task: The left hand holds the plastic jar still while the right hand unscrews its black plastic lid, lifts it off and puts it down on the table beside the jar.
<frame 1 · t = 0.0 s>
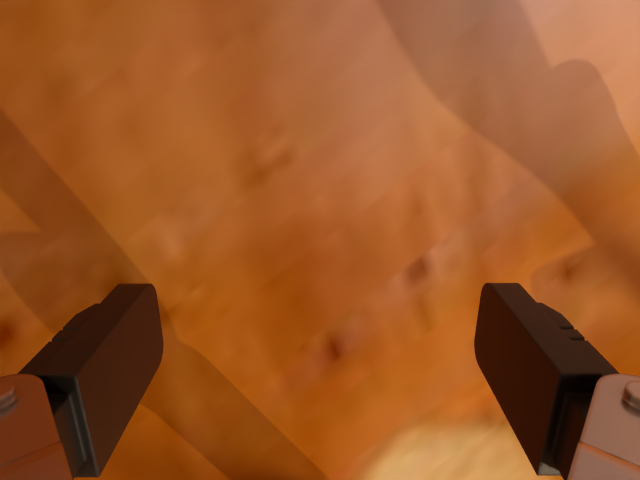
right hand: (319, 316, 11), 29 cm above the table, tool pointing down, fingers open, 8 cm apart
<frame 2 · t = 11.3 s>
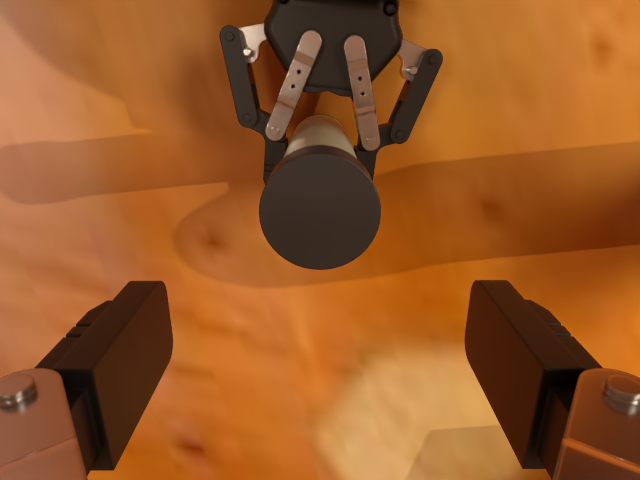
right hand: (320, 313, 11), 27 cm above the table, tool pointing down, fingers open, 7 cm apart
left hand: (316, 196, 32), fingers closed on jar, 4 cm apart
jar: (320, 143, 37), on the table, touching left hand
lid: (319, 212, 19), point 19 cm above the table, screwed on, not yet turned
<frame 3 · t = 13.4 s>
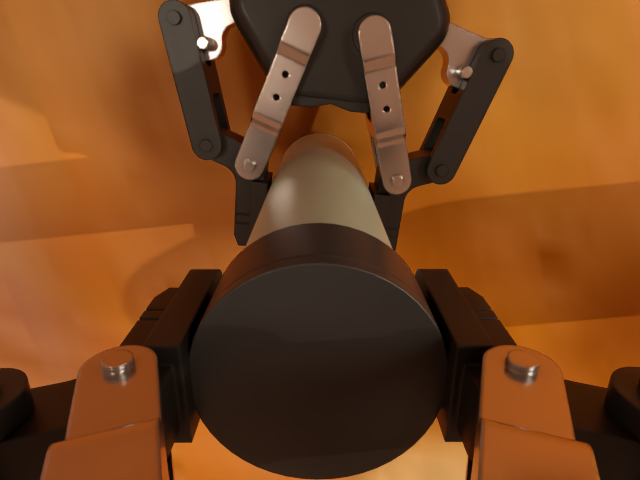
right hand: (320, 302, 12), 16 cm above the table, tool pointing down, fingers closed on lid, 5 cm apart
left hand: (313, 256, 22), fingers closed on jar, 4 cm apart
jar: (319, 173, 26), on the table, touching left hand
lid: (318, 371, 9), point 19 cm above the table, screwed on, not yet turned, touching right hand
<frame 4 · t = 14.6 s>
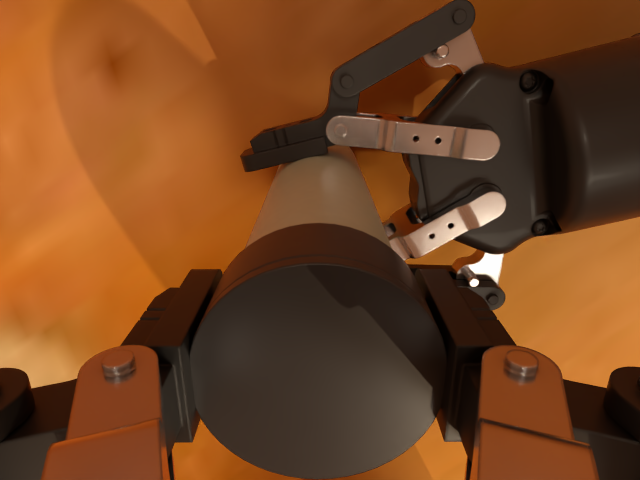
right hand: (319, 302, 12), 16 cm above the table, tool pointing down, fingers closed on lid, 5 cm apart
left hand: (263, 215, 21), fingers closed on jar, 4 cm apart
jar: (319, 172, 27), on the table, touching left hand
lid: (318, 371, 9), point 19 cm above the table, turned 71° so far, risen 0.2 cm, still on its thread, touching right hand
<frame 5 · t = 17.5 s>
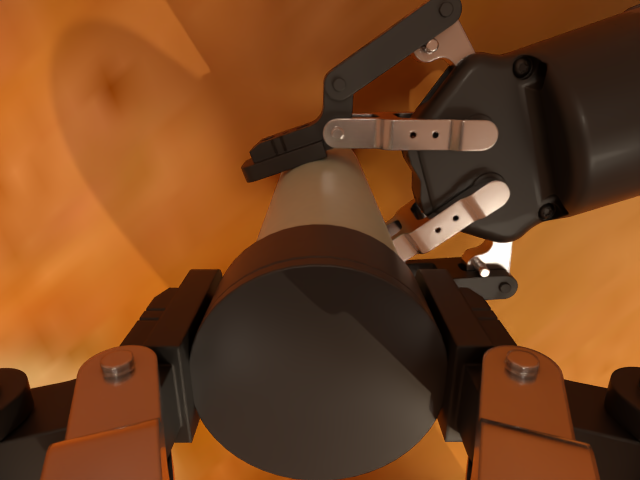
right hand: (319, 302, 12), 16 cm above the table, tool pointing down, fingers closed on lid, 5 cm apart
left hand: (269, 223, 21), fingers closed on jar, 4 cm apart
jar: (322, 175, 27), on the table, touching right hand, left hand, lid
lid: (318, 372, 9), point 19 cm above the table, off its thread, touching right hand, jar
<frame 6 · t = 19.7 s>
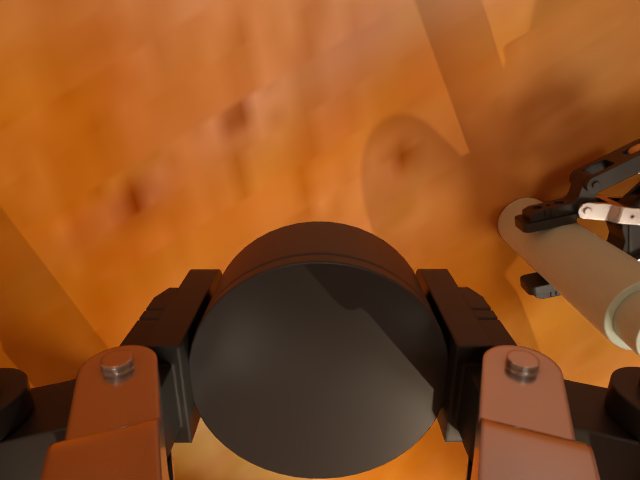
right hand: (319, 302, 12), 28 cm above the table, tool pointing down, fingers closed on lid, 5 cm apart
jar: (523, 222, 41), on the table, touching left hand
lid: (318, 370, 9), point 31 cm above the table, off its thread, touching right hand
when the right hand's fingers open (1 cm above the table, at t = 22.7 s): lid drops 2 cm, point 2 cm above the table.
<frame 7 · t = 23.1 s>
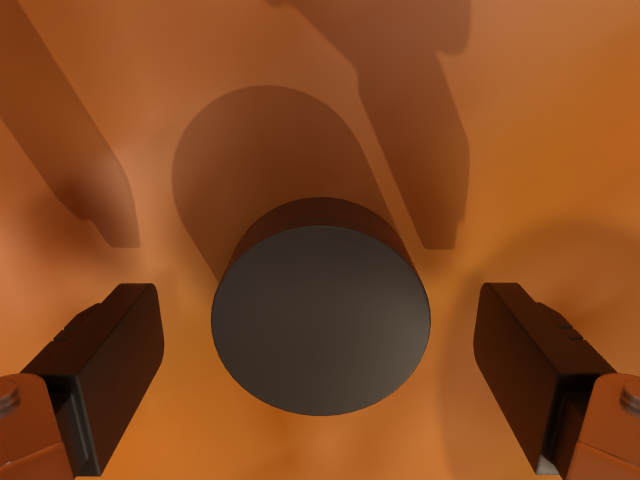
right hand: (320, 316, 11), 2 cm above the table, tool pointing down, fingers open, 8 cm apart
lid: (320, 321, 11), point 2 cm above the table, off its thread
when the left hand's fingers open (6 cm above the table, at t = 23.7 s): jar stays where it is, on the table.
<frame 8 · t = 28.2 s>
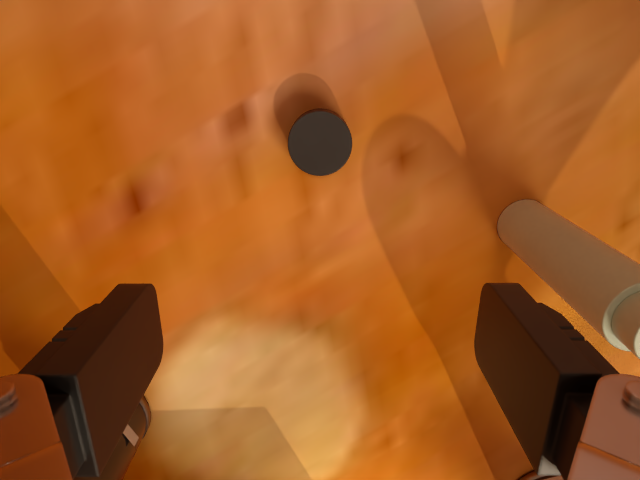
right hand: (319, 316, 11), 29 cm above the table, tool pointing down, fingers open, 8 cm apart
jar: (522, 223, 41), on the table
lid: (320, 143, 36), point 2 cm above the table, off its thread
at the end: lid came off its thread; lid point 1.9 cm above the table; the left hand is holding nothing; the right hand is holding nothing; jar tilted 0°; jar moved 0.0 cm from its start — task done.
